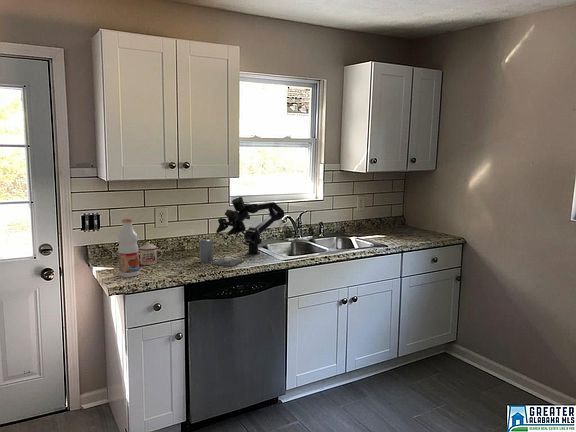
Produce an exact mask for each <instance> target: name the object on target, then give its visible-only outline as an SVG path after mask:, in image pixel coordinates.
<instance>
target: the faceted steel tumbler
mask: <svg viewBox="0 0 576 432" xmlns="http://www.w3.org/2000/svg"><path fill="white" fill-rule="evenodd" d="M198 241H199V242H198V243H199V246H198V247H199V250H198V251H199V263H201V264H208V263H209V264H211V263H213V262H214V245H213V243H214V241H213V239H211V238H201V239H199V240H198Z"/></svg>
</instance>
